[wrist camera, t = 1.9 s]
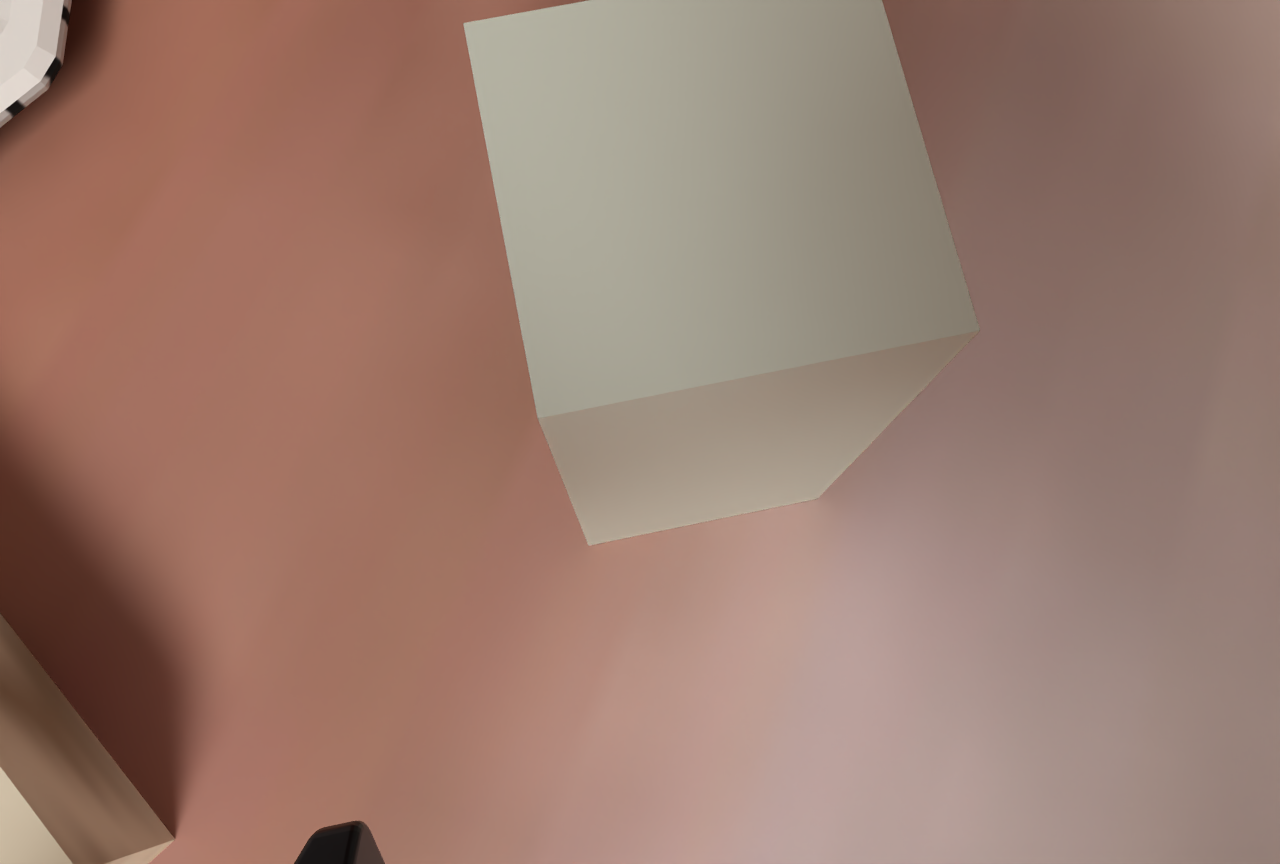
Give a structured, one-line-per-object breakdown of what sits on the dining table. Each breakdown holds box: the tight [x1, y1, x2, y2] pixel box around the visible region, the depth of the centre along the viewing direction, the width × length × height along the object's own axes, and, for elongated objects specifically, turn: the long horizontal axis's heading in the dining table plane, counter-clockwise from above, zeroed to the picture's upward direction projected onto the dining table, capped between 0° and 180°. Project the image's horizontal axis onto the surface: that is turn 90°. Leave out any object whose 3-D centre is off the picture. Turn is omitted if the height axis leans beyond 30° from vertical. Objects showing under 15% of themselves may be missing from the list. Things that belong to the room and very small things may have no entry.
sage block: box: [463, 0, 980, 546], centre depth 17 cm, size 5×5×11 cm
